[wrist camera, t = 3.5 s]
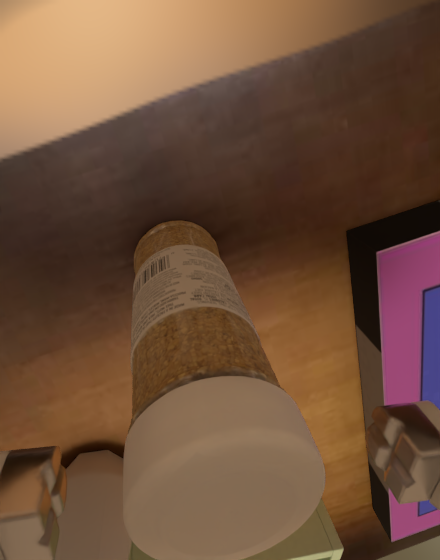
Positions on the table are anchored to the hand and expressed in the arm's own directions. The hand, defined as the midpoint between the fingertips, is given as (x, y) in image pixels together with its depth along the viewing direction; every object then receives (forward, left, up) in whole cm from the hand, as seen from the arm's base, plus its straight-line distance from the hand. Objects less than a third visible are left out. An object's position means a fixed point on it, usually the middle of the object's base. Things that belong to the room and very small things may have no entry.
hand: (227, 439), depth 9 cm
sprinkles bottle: (0, 0, -12) cm, 12 cm away
